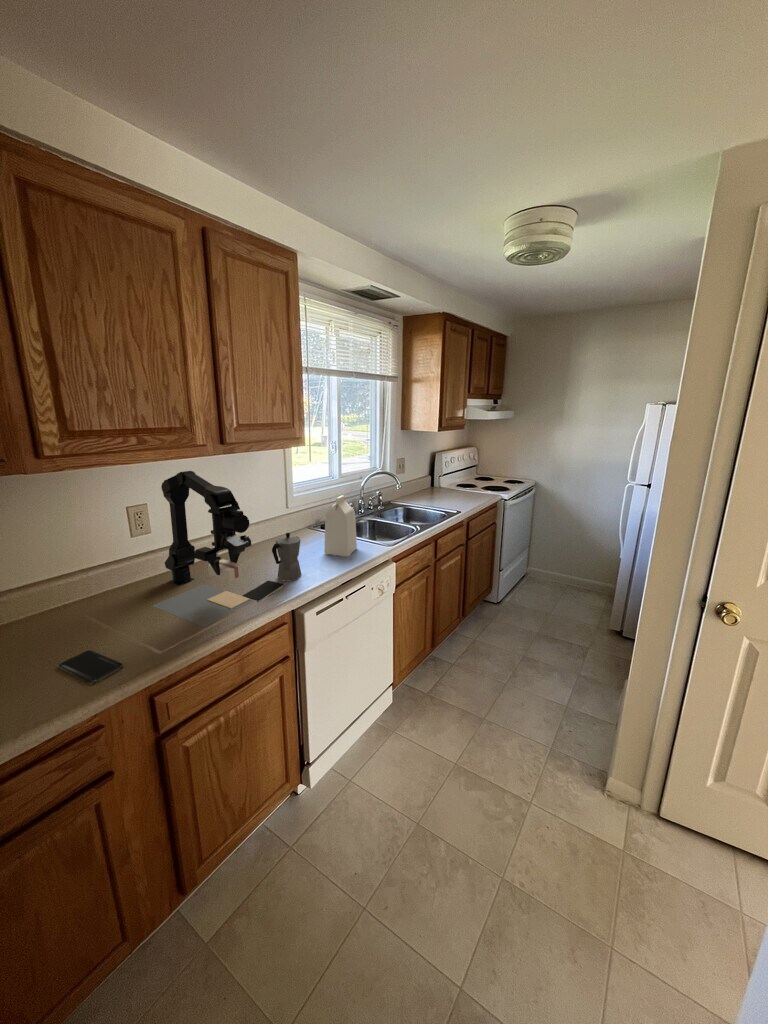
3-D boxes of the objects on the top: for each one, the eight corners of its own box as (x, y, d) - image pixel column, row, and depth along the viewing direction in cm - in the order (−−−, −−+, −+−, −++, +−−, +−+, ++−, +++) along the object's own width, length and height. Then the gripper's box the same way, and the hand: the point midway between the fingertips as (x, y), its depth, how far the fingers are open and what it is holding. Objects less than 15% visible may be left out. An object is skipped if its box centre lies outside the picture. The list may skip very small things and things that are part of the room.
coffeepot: (291, 568, 170) (289, 526, 166) (309, 573, 166) (308, 530, 162) (264, 582, 157) (262, 537, 152) (284, 587, 153) (281, 541, 148)
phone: (92, 682, 98) (56, 664, 104) (93, 686, 98) (57, 668, 104) (125, 664, 105) (89, 649, 111) (125, 668, 105) (90, 652, 111)
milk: (347, 556, 185) (347, 500, 178) (324, 554, 188) (323, 498, 181) (357, 548, 196) (357, 495, 190) (334, 545, 199) (333, 493, 193)
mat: (151, 607, 136) (151, 604, 136) (204, 585, 153) (203, 583, 153) (204, 628, 124) (203, 626, 123) (254, 602, 140) (254, 600, 140)
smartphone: (240, 596, 143) (267, 580, 157) (240, 599, 144) (267, 583, 157) (258, 600, 140) (285, 583, 154) (259, 604, 141) (285, 586, 154)
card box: (244, 574, 139) (243, 564, 138) (229, 581, 134) (228, 570, 133) (223, 568, 143) (222, 559, 142) (208, 574, 138) (208, 564, 137)
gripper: (215, 538, 123) (219, 587, 127) (261, 524, 138) (264, 567, 142) (190, 532, 128) (195, 579, 132) (238, 519, 144) (241, 561, 148)
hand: (226, 571), depth 138 cm, fingers closed on card box, 6 cm apart
